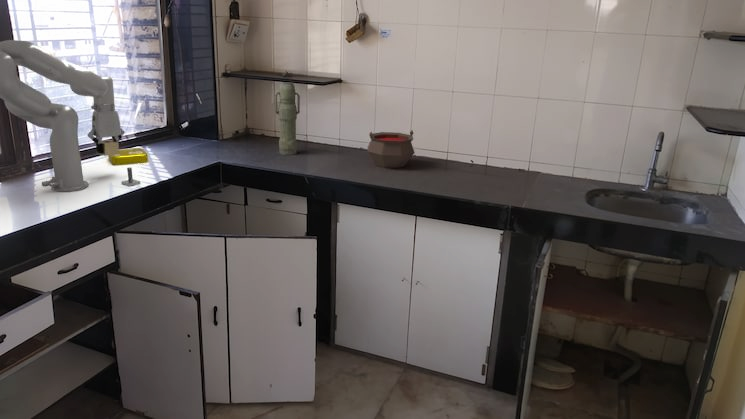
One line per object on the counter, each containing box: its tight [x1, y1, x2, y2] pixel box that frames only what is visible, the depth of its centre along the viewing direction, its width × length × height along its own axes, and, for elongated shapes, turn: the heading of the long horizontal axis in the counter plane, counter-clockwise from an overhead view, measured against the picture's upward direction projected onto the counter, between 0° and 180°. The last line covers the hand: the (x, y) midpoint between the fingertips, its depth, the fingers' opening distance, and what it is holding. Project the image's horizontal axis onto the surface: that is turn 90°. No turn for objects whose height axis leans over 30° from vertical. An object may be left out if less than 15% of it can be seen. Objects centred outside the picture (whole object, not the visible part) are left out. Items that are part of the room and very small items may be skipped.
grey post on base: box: [121, 167, 141, 187], centre depth 222 cm, size 5×5×6 cm
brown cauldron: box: [367, 129, 416, 169], centre depth 267 cm, size 24×24×16 cm
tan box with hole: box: [96, 139, 120, 157], centre depth 229 cm, size 6×6×5 cm
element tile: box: [108, 147, 149, 166], centre depth 257 cm, size 15×15×5 cm
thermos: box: [274, 81, 301, 156], centre depth 278 cm, size 9×12×35 cm
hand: (107, 151), depth 229 cm, fingers closed on tan box with hole, 6 cm apart
